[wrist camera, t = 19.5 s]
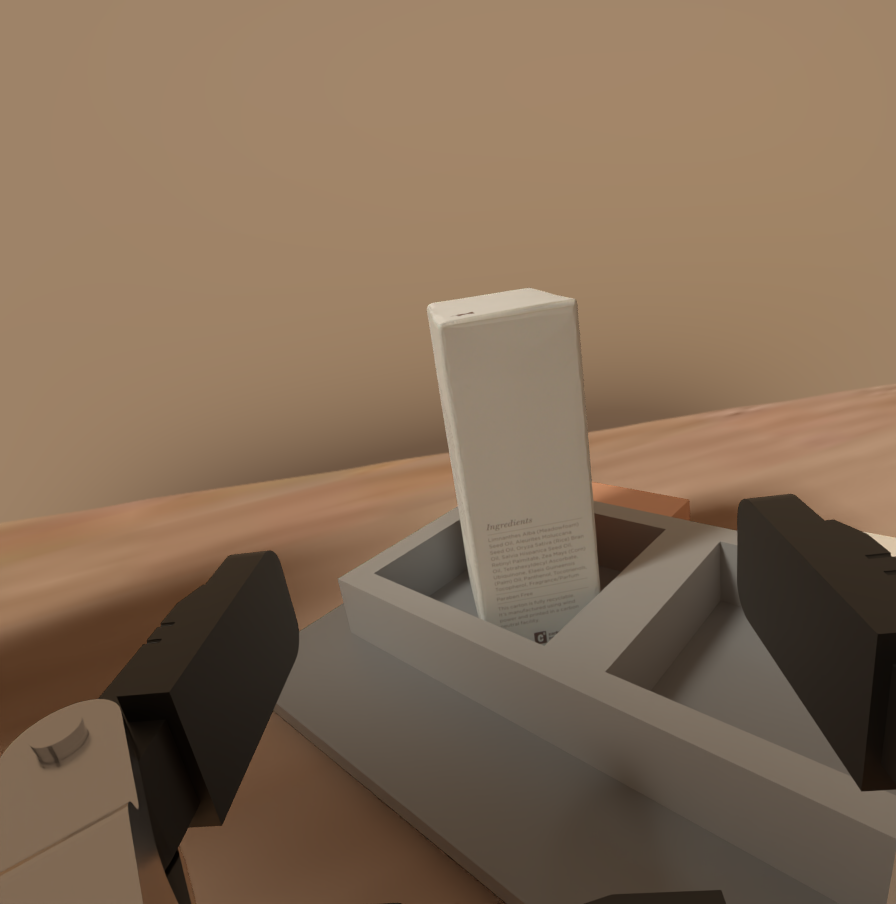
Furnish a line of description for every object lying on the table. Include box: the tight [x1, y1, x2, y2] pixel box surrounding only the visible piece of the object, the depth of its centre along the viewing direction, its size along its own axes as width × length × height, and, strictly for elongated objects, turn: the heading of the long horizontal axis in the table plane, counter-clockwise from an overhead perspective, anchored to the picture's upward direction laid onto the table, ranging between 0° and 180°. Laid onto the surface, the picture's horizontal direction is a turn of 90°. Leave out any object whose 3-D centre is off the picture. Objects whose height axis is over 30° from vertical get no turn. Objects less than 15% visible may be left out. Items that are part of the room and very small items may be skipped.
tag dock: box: [273, 482, 896, 904], centre depth 20 cm, size 24×18×3 cm
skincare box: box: [427, 288, 601, 646], centre depth 22 cm, size 6×4×12 cm
